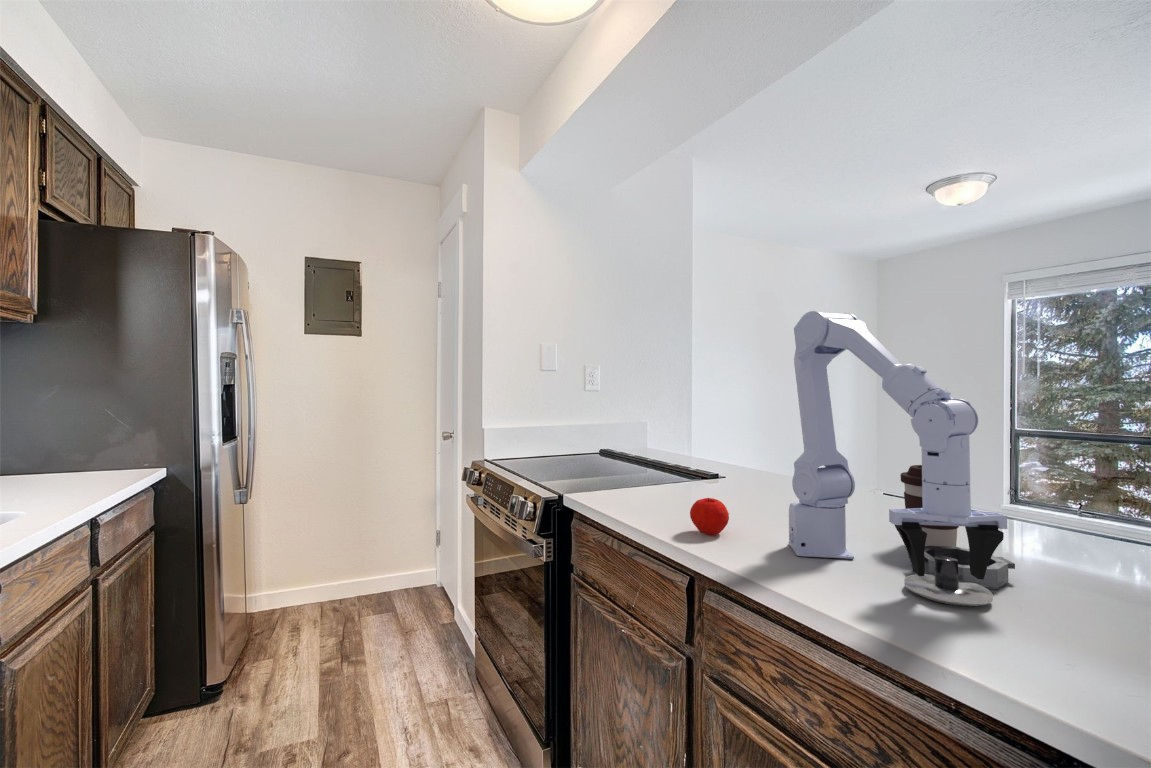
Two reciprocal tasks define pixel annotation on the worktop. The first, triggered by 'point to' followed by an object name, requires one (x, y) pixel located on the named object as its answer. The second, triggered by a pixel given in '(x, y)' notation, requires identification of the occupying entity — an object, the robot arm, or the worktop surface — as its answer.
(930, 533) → the coffee cup
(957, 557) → the pot
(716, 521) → the apple
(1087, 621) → the worktop surface
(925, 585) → the lid
